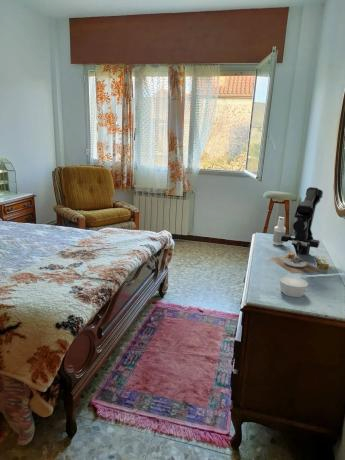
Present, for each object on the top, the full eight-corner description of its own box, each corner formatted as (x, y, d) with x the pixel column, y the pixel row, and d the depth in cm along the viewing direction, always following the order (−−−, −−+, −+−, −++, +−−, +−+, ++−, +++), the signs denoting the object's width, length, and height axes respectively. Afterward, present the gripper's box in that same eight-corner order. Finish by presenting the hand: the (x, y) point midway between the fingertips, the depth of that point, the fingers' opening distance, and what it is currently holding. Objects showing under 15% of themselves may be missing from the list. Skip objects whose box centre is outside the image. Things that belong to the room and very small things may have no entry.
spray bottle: (271, 244, 204) (275, 217, 200) (273, 242, 210) (277, 215, 205) (282, 246, 201) (286, 218, 197) (284, 244, 207) (288, 216, 202)
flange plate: (309, 268, 164) (310, 261, 163) (287, 267, 164) (288, 260, 163) (299, 258, 177) (300, 252, 176) (279, 257, 177) (280, 251, 176)
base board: (297, 258, 182) (297, 256, 181) (323, 273, 161) (323, 271, 161) (268, 259, 177) (268, 257, 177) (291, 275, 157) (291, 273, 157)
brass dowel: (287, 259, 177) (288, 253, 176) (289, 260, 175) (290, 254, 174) (284, 259, 176) (285, 254, 175) (286, 260, 175) (287, 255, 174)
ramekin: (273, 289, 141) (274, 277, 140) (292, 285, 146) (294, 274, 144) (291, 300, 131) (293, 288, 130) (311, 296, 136) (313, 285, 134)
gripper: (323, 228, 172) (318, 255, 176) (287, 222, 181) (283, 248, 185) (320, 232, 162) (315, 261, 166) (282, 226, 172) (278, 253, 176)
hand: (297, 255), depth 174 cm, fingers closed
